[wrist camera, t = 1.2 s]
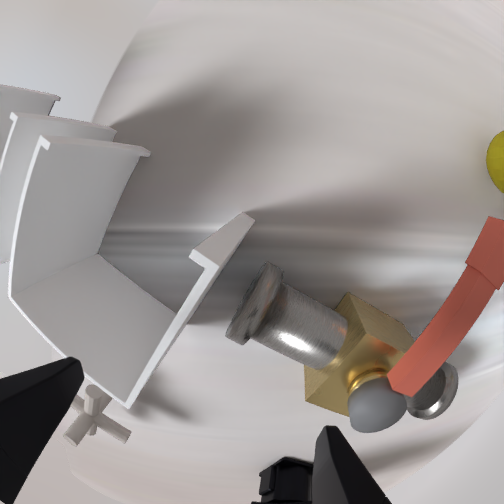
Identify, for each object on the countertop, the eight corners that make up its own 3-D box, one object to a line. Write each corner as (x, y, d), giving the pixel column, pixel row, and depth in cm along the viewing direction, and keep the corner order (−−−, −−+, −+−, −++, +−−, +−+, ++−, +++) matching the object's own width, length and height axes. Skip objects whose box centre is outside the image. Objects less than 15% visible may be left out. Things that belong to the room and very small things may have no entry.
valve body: (444, 349, 21) (476, 394, 14) (404, 394, 22) (423, 444, 16) (272, 248, 20) (263, 285, 13) (233, 314, 22) (210, 368, 15)
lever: (374, 420, 15) (378, 438, 13) (335, 407, 15) (338, 426, 13) (509, 242, 11) (526, 250, 9) (481, 208, 11) (499, 213, 9)
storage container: (23, 185, 22) (-51, 198, 12) (56, 95, 19) (-24, 81, 9) (187, 323, 23) (129, 409, 13) (255, 220, 20) (219, 266, 10)
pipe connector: (82, 340, 26) (29, 388, 16) (154, 388, 26) (114, 453, 16) (78, 385, 29) (39, 429, 19) (137, 425, 29) (107, 478, 19)
